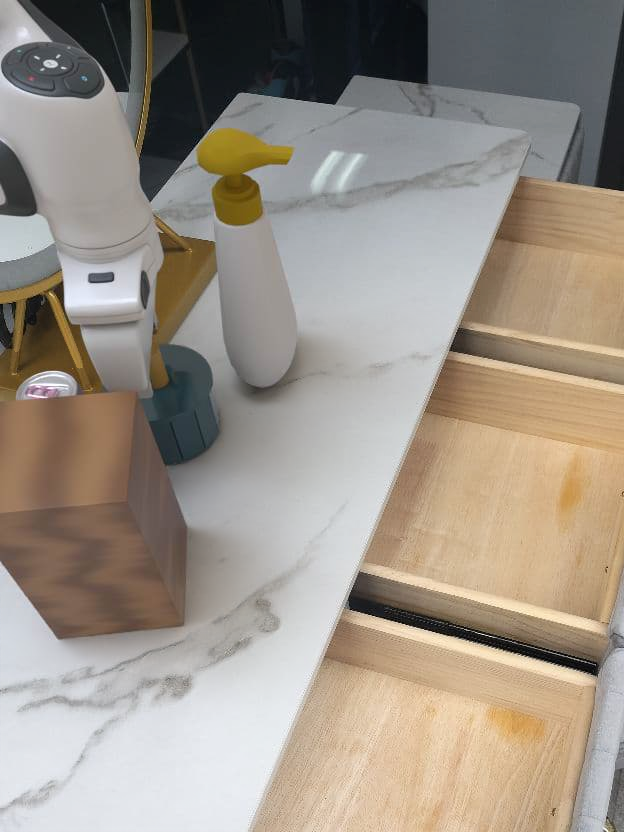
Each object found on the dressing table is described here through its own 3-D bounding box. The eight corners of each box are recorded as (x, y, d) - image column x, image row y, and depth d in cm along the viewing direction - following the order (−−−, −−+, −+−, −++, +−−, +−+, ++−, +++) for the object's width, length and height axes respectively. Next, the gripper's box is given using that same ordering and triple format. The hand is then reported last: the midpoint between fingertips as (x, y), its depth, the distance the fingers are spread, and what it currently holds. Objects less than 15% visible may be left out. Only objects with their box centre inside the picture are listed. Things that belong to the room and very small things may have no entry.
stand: (57, 639, 78) (-35, 516, 62) (70, 537, 85) (-9, 401, 69) (183, 626, 79) (126, 501, 63) (187, 526, 86) (136, 389, 69)
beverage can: (81, 465, 90) (30, 365, 78) (132, 473, 90) (89, 373, 78) (58, 507, 87) (2, 409, 75) (111, 516, 87) (63, 419, 74)
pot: (122, 469, 90) (103, 425, 84) (129, 400, 96) (112, 355, 90) (219, 460, 91) (207, 417, 85) (219, 392, 97) (208, 347, 91)
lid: (99, 429, 84) (83, 394, 80) (108, 352, 91) (94, 316, 86) (212, 419, 85) (202, 384, 81) (213, 343, 92) (204, 307, 87)
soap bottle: (311, 406, 96) (282, 174, 72) (224, 402, 96) (165, 170, 72) (323, 332, 103) (300, 99, 79) (241, 328, 103) (194, 95, 79)
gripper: (85, 182, 79) (123, 297, 91) (62, 323, 68) (109, 435, 79) (151, 178, 80) (181, 293, 91) (139, 318, 68) (175, 430, 80)
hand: (147, 360), depth 85 cm, fingers open, 8 cm apart
